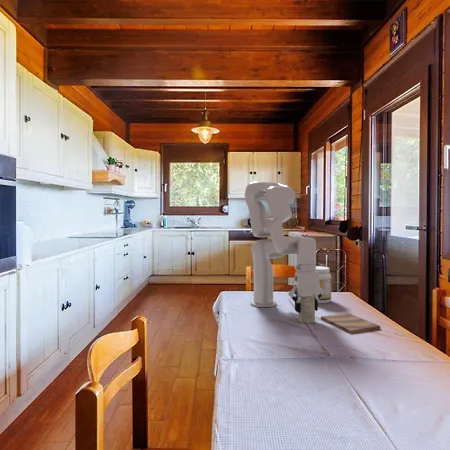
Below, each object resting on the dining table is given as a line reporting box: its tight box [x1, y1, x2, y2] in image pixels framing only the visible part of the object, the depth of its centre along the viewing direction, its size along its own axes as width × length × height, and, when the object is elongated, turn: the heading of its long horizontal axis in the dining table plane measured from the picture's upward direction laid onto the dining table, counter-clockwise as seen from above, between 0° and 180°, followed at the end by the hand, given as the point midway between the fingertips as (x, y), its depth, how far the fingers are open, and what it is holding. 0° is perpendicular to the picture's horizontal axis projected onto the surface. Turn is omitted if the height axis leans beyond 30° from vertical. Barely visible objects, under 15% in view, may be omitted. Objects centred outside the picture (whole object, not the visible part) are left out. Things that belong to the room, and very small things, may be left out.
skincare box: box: [298, 293, 316, 324], centre depth 137 cm, size 6×4×12 cm
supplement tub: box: [316, 265, 332, 304], centre depth 170 cm, size 12×12×17 cm
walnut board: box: [320, 312, 381, 335], centre depth 134 cm, size 18×14×1 cm
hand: (306, 310), depth 138 cm, fingers closed on skincare box, 7 cm apart
